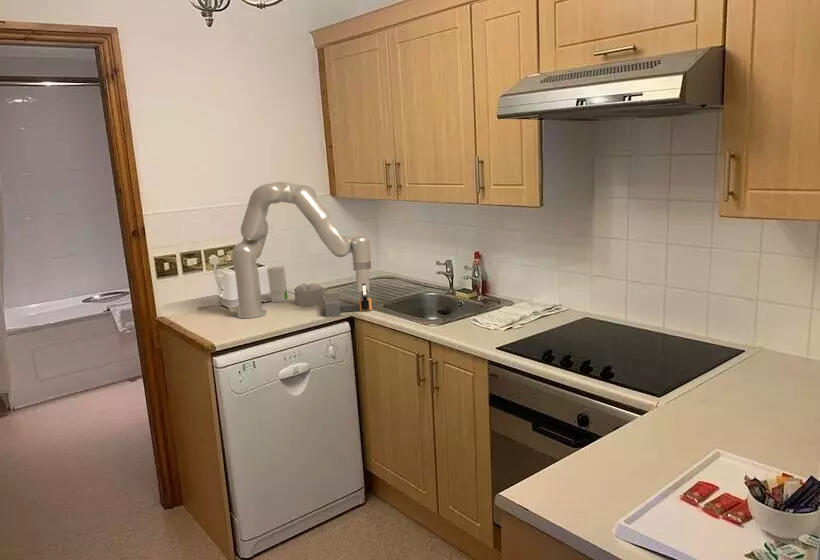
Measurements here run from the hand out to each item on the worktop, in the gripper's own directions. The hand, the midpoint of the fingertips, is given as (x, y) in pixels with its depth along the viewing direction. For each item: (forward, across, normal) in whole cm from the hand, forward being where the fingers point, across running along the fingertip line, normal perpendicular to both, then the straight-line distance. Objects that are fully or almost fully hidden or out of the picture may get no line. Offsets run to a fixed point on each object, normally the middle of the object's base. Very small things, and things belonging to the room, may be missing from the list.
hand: (365, 307), depth 276 cm
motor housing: (+1, 0, -14) cm, 14 cm away
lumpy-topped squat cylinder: (+1, -22, -25) cm, 33 cm away
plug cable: (+1, 0, -5) cm, 5 cm away
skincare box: (+1, -32, -39) cm, 50 cm away
